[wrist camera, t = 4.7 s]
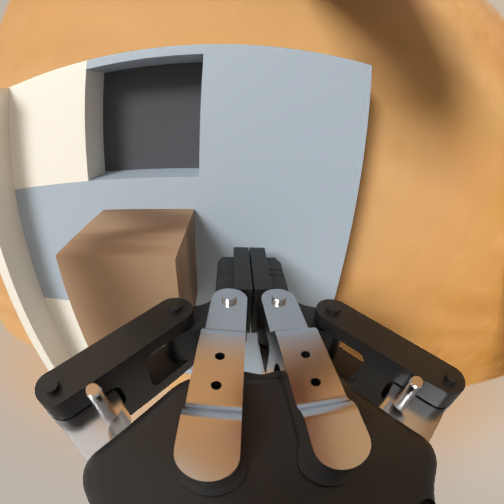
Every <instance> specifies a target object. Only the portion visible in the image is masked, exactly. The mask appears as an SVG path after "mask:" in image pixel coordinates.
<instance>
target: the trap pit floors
mask: <svg viewBox="0 0 504 504" xmlns="http://www.w3.org/2000/svg"><path fill="white" fill-rule="evenodd" d="M202 70H203V62H195V63H176V64H164V65H154V66H145V67H137V68H130V69H124V70H118V71H112V72H107V73H104V87H103V140H104V160H105V172H106V171H121V170H139V169H167V168H199V149H200V111H201V88H202Z"/></svg>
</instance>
